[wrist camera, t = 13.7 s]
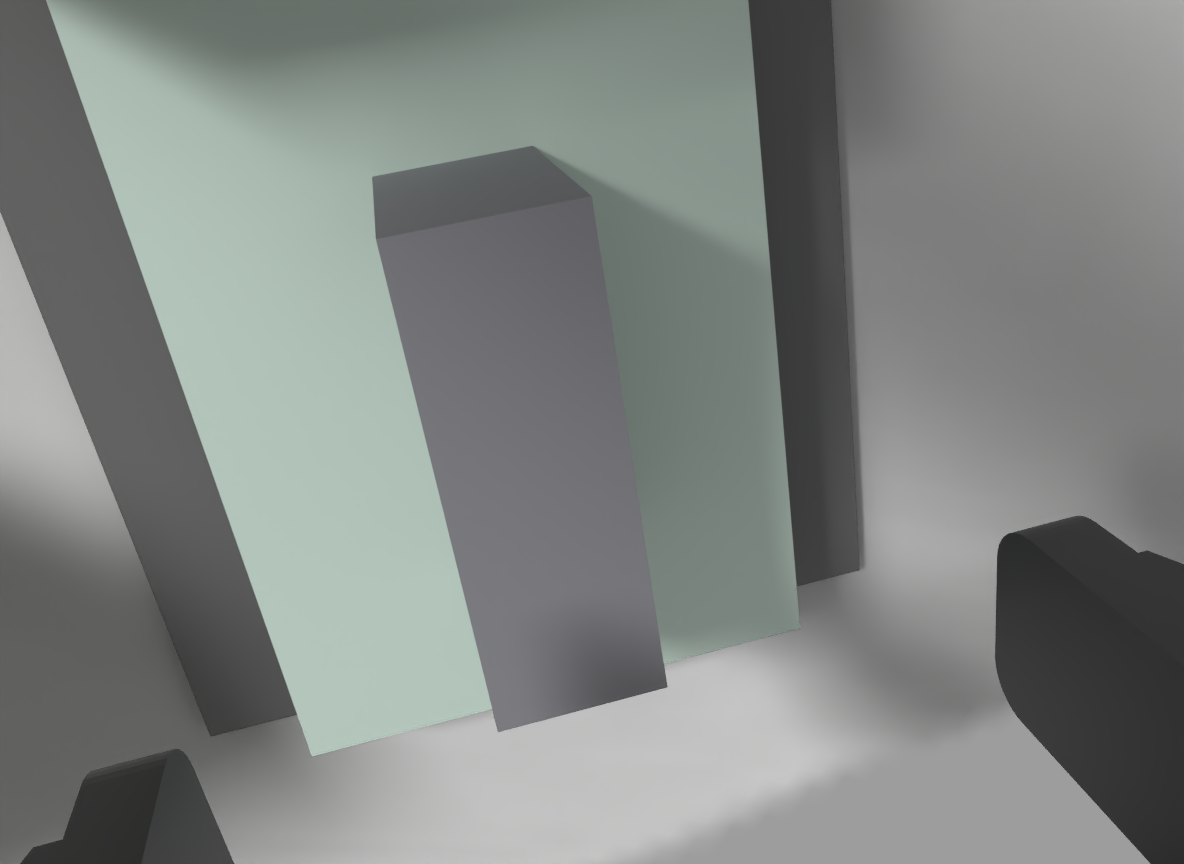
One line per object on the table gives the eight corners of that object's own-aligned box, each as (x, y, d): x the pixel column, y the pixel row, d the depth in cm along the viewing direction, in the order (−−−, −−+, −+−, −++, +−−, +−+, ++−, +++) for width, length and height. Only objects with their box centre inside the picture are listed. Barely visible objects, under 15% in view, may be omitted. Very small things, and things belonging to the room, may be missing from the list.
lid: (81, -5, 17) (-89, -7, 11) (698, -106, 19) (878, -162, 12) (316, 692, 23) (298, 957, 17) (764, 578, 25) (907, 782, 18)
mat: (-81, -14, 17) (-91, -13, 17) (813, -156, 19) (822, -159, 19) (212, 725, 24) (210, 736, 23) (852, 562, 26) (859, 569, 25)
